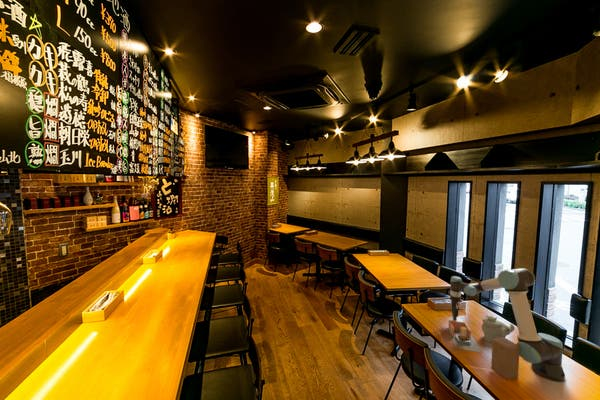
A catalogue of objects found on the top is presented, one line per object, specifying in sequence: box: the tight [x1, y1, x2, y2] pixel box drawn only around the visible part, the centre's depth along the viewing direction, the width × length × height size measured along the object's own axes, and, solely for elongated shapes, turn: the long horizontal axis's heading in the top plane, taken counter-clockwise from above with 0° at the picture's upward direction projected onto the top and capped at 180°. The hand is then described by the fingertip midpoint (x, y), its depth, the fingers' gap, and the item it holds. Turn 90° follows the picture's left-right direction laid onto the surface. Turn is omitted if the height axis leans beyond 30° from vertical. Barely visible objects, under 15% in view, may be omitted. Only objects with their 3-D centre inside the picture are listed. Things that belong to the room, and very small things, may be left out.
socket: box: [455, 334, 471, 345], centre depth 190 cm, size 8×8×2 cm
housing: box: [447, 320, 472, 340], centre depth 198 cm, size 12×12×7 cm
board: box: [446, 327, 483, 353], centre depth 192 cm, size 27×16×1 cm, turn 163°
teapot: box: [481, 315, 516, 343], centre depth 190 cm, size 16×15×19 cm
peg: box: [460, 326, 467, 341], centre depth 190 cm, size 4×4×10 cm
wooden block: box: [490, 337, 520, 380], centre depth 158 cm, size 10×10×20 cm
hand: (454, 323), depth 210 cm, fingers closed
